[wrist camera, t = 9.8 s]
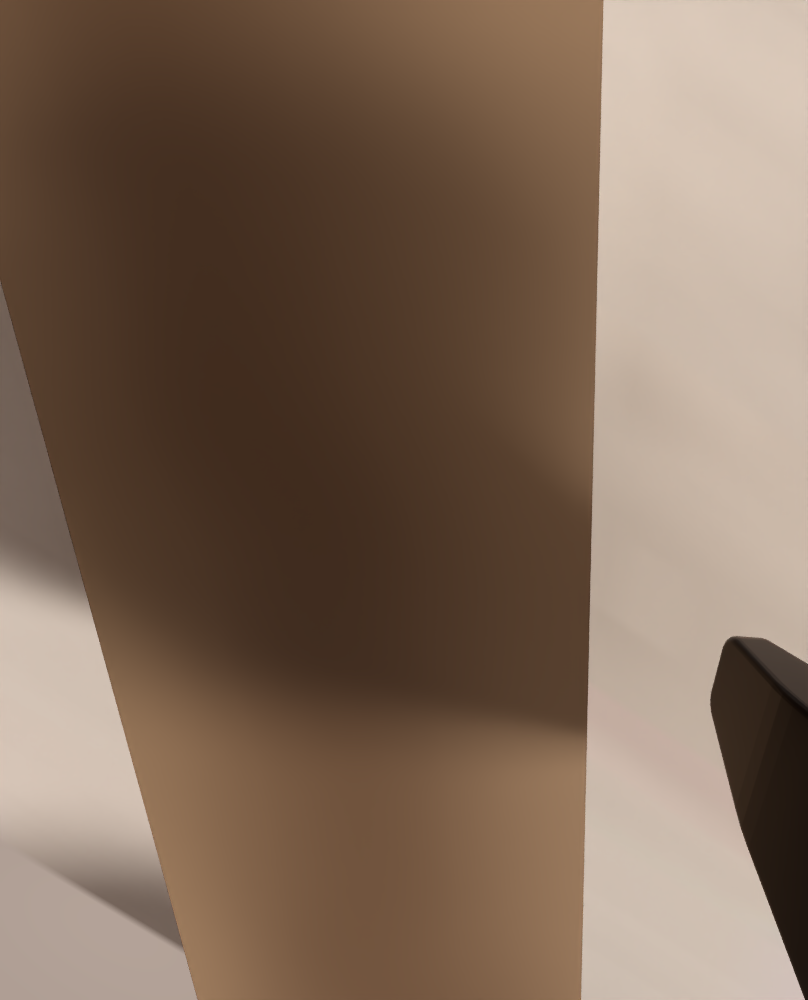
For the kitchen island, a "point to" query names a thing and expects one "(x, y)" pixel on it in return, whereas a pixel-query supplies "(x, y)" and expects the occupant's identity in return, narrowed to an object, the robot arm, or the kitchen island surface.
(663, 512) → the kitchen island surface
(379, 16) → the board
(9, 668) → the kitchen island surface
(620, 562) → the kitchen island surface
